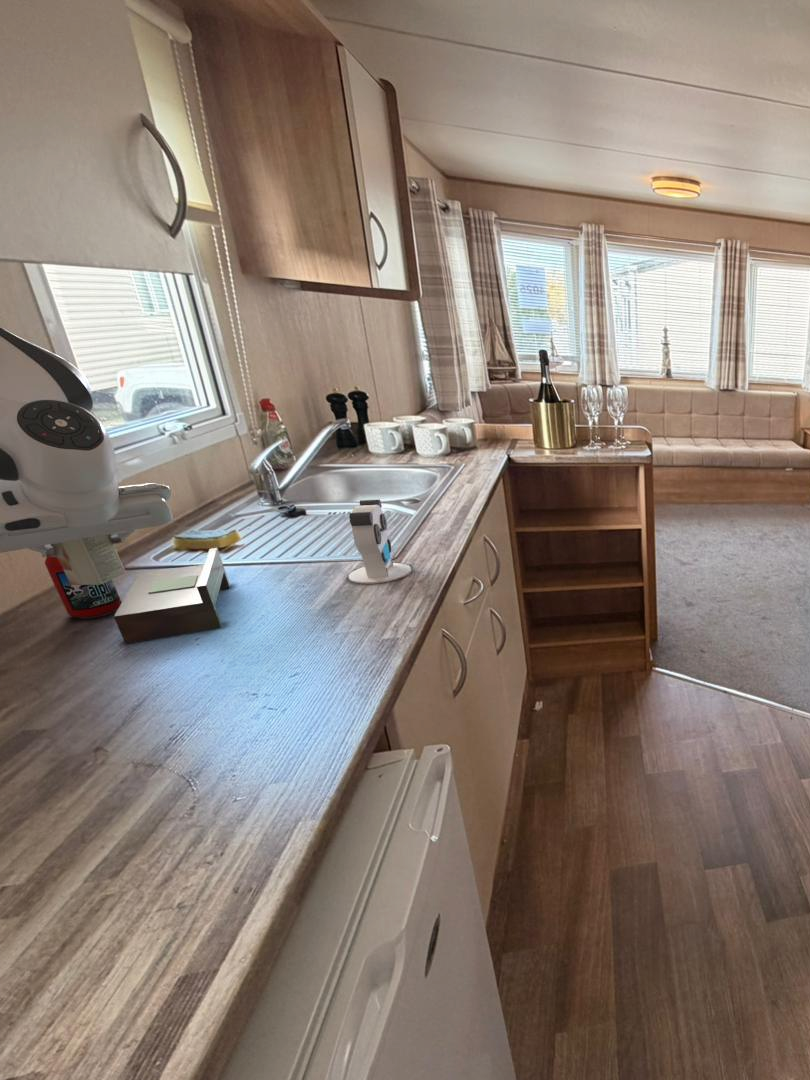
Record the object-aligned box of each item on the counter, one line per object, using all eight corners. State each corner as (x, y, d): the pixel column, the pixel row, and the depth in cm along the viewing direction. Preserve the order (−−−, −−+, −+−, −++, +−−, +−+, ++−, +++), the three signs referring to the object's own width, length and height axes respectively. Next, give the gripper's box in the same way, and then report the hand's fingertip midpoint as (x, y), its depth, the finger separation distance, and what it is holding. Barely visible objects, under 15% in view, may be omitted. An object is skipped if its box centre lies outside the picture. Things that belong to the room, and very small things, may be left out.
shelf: (125, 644, 104) (106, 599, 101) (147, 597, 120) (131, 557, 117) (221, 627, 111) (206, 585, 108) (230, 585, 127) (217, 547, 124)
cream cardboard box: (97, 573, 102) (71, 512, 98) (127, 573, 102) (102, 513, 98) (66, 585, 97) (37, 522, 93) (98, 585, 98) (71, 522, 94)
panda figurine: (406, 581, 132) (391, 512, 126) (342, 587, 128) (323, 515, 122) (414, 562, 143) (401, 497, 136) (355, 566, 139) (338, 499, 132)
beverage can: (88, 623, 110) (59, 558, 105) (59, 617, 111) (29, 553, 106) (134, 607, 116) (108, 545, 111) (106, 602, 117) (79, 541, 112)
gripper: (160, 465, 97) (161, 515, 106) (-51, 489, 82) (-29, 545, 90) (181, 499, 97) (180, 546, 106) (-28, 529, 81) (-8, 582, 90)
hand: (82, 546), depth 98 cm, fingers closed on cream cardboard box, 6 cm apart
